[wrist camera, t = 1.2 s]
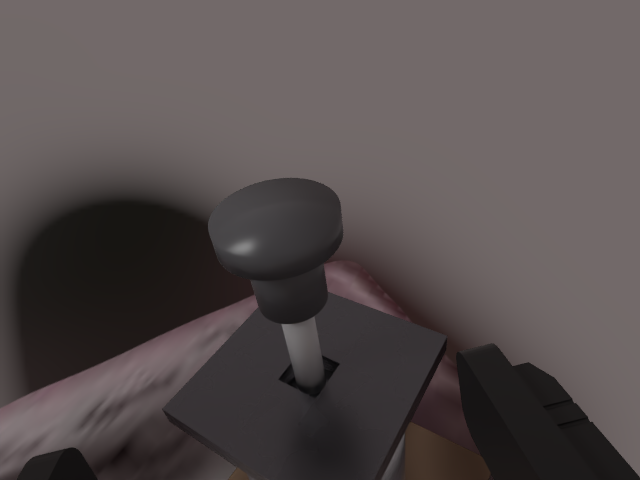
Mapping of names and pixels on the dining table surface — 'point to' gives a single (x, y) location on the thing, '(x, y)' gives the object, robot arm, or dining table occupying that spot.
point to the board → (430, 459)
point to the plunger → (283, 259)
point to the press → (313, 397)
